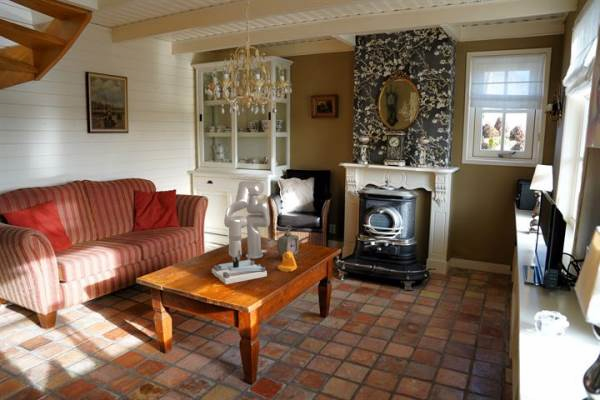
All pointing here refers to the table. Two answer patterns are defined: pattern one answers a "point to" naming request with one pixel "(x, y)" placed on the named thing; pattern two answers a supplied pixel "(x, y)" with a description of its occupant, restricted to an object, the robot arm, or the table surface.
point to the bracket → (288, 262)
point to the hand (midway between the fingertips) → (235, 267)
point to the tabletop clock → (288, 243)
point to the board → (238, 274)
